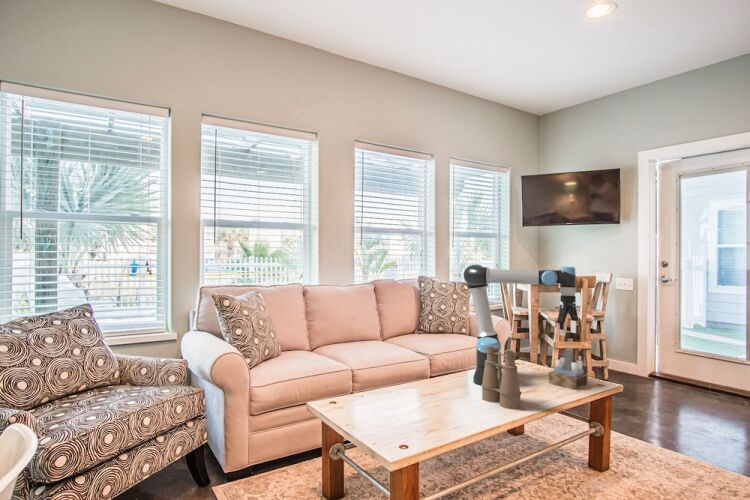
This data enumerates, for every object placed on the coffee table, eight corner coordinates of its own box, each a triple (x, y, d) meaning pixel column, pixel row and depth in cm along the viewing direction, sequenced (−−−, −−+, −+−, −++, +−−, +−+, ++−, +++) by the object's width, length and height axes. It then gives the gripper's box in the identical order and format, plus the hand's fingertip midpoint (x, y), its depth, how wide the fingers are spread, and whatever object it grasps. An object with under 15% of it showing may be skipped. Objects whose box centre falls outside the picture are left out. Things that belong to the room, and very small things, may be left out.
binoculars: (476, 398, 203) (476, 346, 203) (490, 394, 208) (490, 344, 209) (511, 411, 186) (511, 354, 186) (526, 406, 191) (525, 351, 192)
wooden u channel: (549, 383, 226) (548, 366, 226) (561, 378, 236) (561, 361, 236) (575, 389, 216) (575, 371, 216) (587, 384, 226) (587, 366, 226)
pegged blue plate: (553, 371, 228) (553, 348, 228) (562, 368, 234) (561, 346, 235) (576, 376, 219) (576, 352, 219) (584, 373, 225) (584, 349, 226)
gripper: (564, 296, 216) (564, 337, 216) (584, 294, 233) (584, 332, 232) (550, 295, 222) (550, 335, 222) (571, 293, 238) (571, 330, 238)
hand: (568, 334), depth 227 cm, fingers open, 13 cm apart
